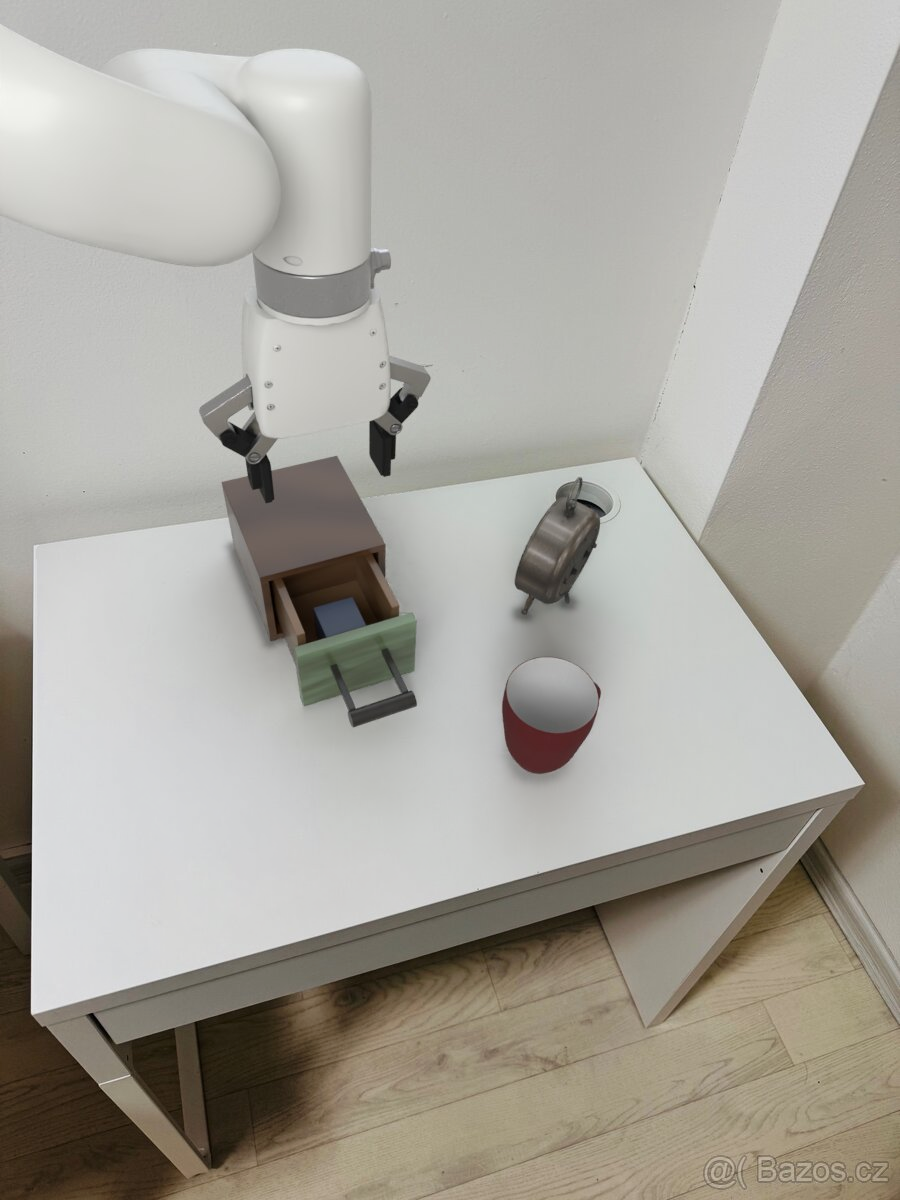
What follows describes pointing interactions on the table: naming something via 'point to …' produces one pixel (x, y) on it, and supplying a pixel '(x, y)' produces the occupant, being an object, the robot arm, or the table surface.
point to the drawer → (347, 636)
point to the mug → (548, 712)
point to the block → (337, 618)
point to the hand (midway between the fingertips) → (323, 478)
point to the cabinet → (298, 527)
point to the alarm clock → (557, 550)
